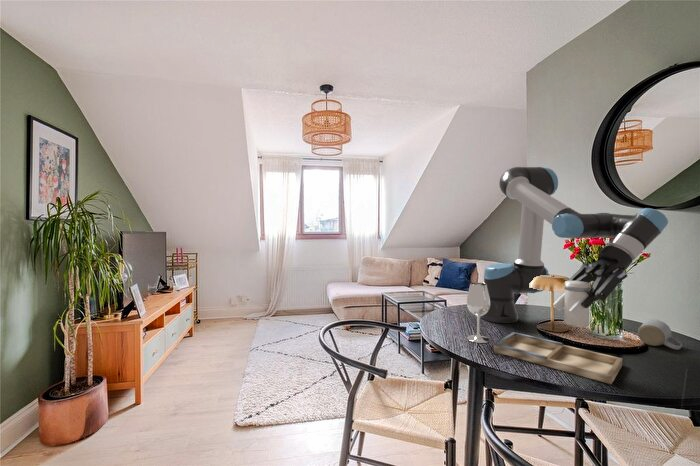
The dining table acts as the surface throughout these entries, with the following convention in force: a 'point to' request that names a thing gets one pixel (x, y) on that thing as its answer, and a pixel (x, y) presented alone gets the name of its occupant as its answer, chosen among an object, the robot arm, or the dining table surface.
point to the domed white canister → (572, 295)
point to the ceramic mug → (657, 334)
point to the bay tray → (560, 356)
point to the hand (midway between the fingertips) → (564, 310)
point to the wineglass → (478, 307)
